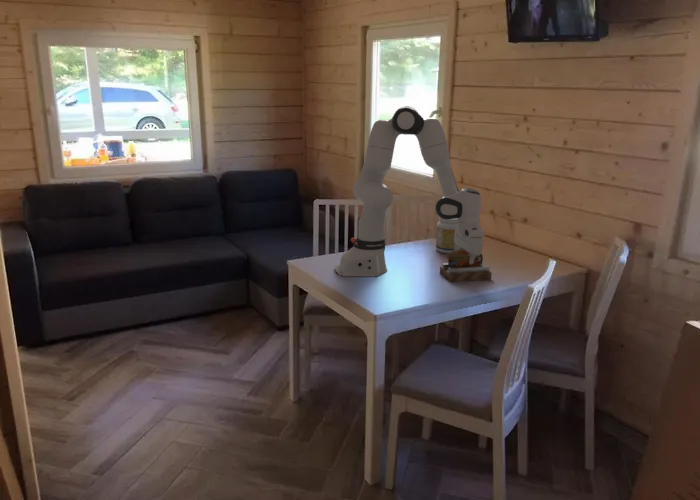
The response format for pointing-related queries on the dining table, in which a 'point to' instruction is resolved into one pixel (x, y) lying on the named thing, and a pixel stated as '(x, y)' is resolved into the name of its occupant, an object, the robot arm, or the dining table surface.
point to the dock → (465, 273)
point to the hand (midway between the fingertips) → (466, 260)
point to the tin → (462, 259)
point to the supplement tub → (446, 235)
